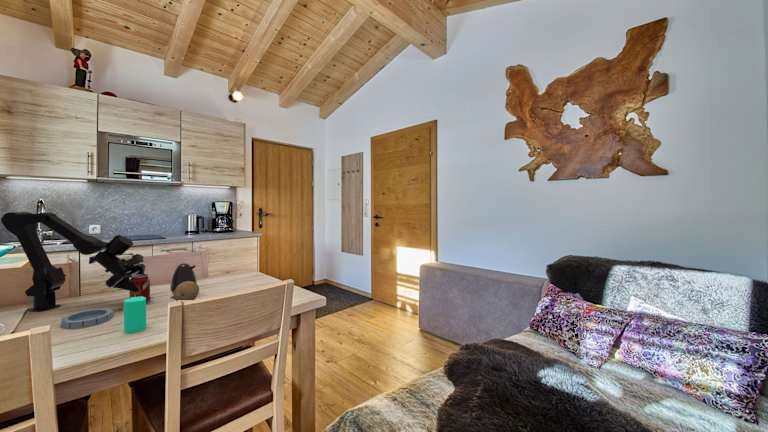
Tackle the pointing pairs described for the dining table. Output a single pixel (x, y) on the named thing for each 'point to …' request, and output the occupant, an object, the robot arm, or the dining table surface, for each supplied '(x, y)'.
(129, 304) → the candle
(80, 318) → the dish
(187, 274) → the dark rounded figure
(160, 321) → the dining table surface
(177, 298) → the natural sponge
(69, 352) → the dining table surface
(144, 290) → the soda can
